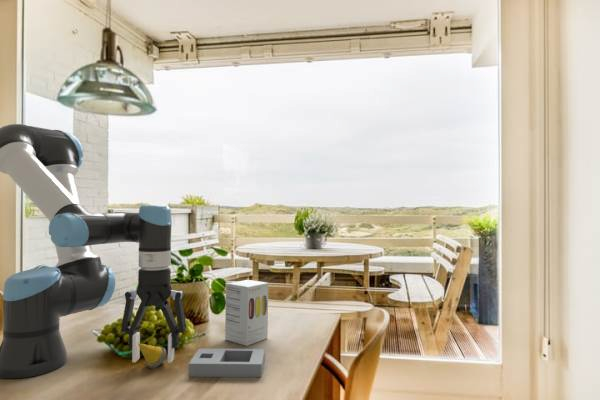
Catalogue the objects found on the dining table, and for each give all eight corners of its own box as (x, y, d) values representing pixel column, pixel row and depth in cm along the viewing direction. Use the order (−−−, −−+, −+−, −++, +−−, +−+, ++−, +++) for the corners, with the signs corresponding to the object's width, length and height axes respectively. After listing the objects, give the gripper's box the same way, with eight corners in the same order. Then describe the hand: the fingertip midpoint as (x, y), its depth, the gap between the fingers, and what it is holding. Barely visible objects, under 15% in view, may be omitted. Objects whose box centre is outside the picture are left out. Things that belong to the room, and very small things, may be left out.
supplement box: (246, 346, 116) (247, 287, 117) (223, 340, 122) (224, 283, 122) (268, 338, 124) (269, 282, 124) (246, 332, 130) (247, 278, 130)
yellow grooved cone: (171, 369, 101) (145, 349, 96) (153, 376, 102) (126, 357, 97) (174, 350, 106) (149, 330, 100) (157, 357, 107) (131, 337, 101)
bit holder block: (188, 376, 96) (188, 363, 96) (199, 360, 106) (199, 348, 106) (261, 377, 96) (261, 364, 96) (265, 360, 106) (265, 349, 106)
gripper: (105, 269, 98) (104, 366, 97) (192, 270, 98) (191, 366, 97) (119, 265, 105) (118, 354, 105) (200, 265, 105) (199, 355, 105)
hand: (153, 360), depth 101 cm, fingers open, 8 cm apart
